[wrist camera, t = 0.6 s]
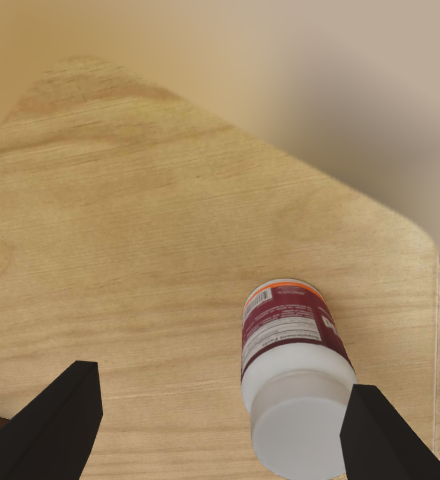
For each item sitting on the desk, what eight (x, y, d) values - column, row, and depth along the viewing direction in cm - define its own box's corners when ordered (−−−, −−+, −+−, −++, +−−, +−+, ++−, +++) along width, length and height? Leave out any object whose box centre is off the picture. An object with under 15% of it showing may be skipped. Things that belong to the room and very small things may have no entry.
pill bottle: (331, 341, 21) (384, 485, 13) (251, 352, 21) (254, 495, 14) (322, 268, 19) (375, 382, 11) (234, 282, 20) (228, 399, 12)
